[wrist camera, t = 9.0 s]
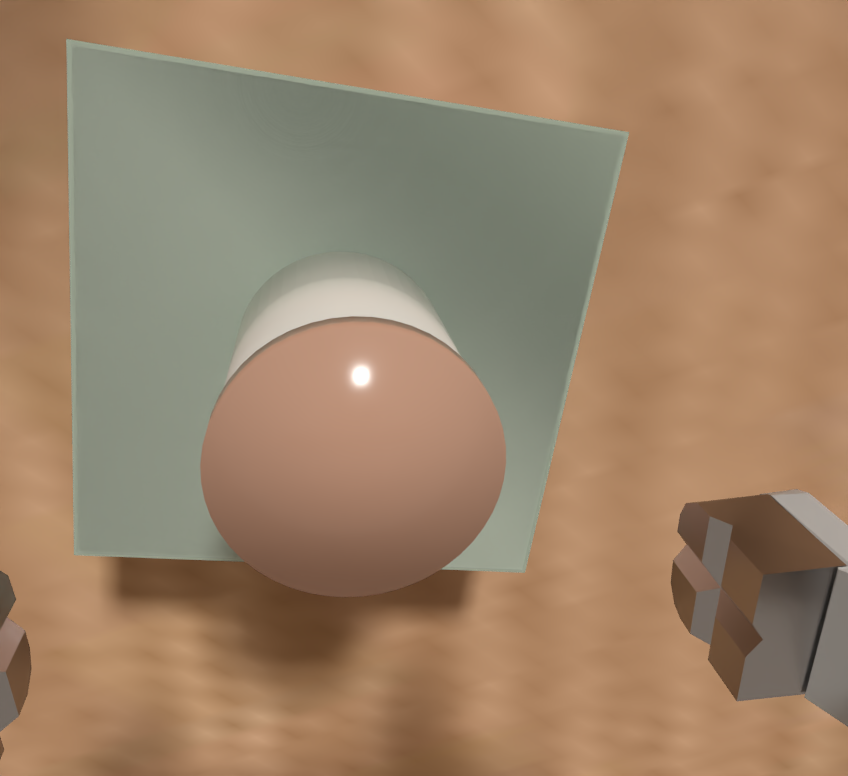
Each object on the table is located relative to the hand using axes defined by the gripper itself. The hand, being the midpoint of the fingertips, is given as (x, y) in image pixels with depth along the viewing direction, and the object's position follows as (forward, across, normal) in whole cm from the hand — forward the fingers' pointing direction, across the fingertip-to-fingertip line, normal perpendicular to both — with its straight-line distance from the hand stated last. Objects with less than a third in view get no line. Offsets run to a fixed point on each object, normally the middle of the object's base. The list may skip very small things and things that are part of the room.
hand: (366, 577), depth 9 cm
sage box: (+15, 0, +1) cm, 15 cm away
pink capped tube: (+10, 0, +1) cm, 10 cm away
